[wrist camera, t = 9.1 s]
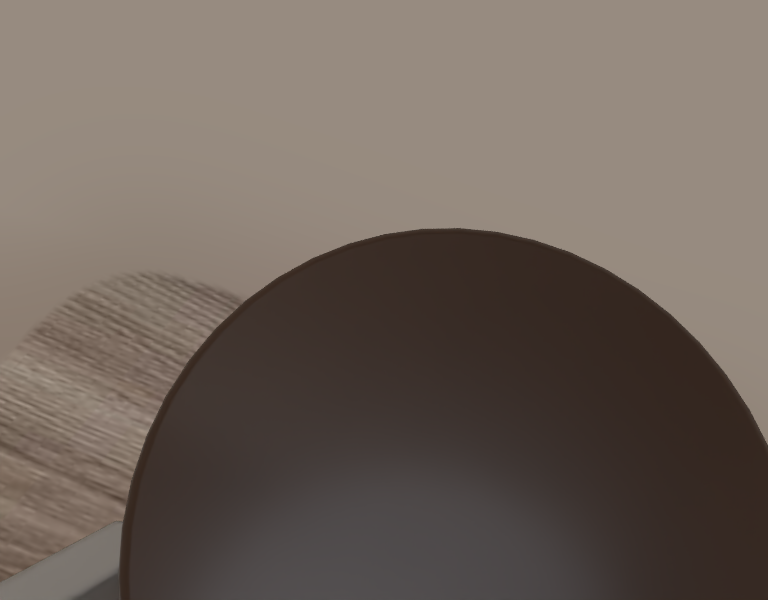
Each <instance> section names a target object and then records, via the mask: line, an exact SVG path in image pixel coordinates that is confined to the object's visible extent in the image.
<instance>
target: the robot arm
mask: <svg viewBox="0 0 768 600" xmlns="http://www.w3.org/2000/svg"><path fill="white" fill-rule="evenodd" d="M122 525H123V522H121V521H115V522H113V523H111V524H109V525H107V526H105V527H103V528H102V529H100V530H98V531H96V532H94V533H92V534H90V535H88V536H86V537H85V538H83V539H81V540H79V541H77V542H75V543H73V544H71V545H70V546H68V547H66V548H64V549H62V550H60V551H58V552H56V553H55V554H53V555H51V556H49V557H47V558H45V559H43V560H41V561H40V562H38V563H36V564H34V565H32V566H30V567H28V568H26V569H25V570H23V571H21V572H19V573H17V574H15V575H13V576H11V577H10V578H8V579H6V580H4V581H2V582H0V600H119V582H118V573H119V560H120V546H121V533H122Z"/></svg>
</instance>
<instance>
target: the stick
mask: <svg viewBox="0 0 768 600" xmlns="http://www.w3.org/2000/svg"><path fill="white" fill-rule="evenodd" d="M118 582H119V600H768V445H767V443H766V441H765V439H764V437H763V435H762V433H761V431H760V429H759V427H758V425H757V423H756V421H755V420H754V418H753V416H752V414H751V412H750V410H749V408H748V407H747V405H746V404H745V402H744V401H743V399H742V398H741V396H740V395H739V393H738V392H737V390H736V389H735V387H734V386H733V384H732V383H731V381H730V380H729V378H728V377H727V375H726V374H725V373H724V371H723V370H722V369H721V368H720V367H719V365H718V364H717V363H716V362H715V361H714V359H713V358H712V357H711V356H710V355H709V353H708V352H707V351H706V350H705V348H704V347H703V346H702V345H701V344H700V343H699V342H698V341H697V340H696V339H695V338H694V337H693V336H692V335H691V334H690V333H689V332H688V331H687V330H686V329H685V328H684V327H683V326H682V325H681V324H680V323H679V322H678V321H677V320H676V319H675V318H674V317H673V316H672V315H671V314H669V313H668V312H667V311H666V310H664V309H663V308H662V307H660V306H659V305H658V304H657V303H655V302H654V301H653V300H651V299H650V298H649V297H648V296H646V295H645V294H644V293H642V292H641V291H640V290H639V289H637V288H635V287H634V286H632V285H630V284H629V283H627V282H626V281H624V280H622V279H621V278H619V277H618V276H616V275H614V274H613V273H611V272H609V271H608V270H606V269H604V268H602V267H600V266H598V265H596V264H594V263H591V262H589V261H587V260H585V259H583V258H581V257H579V256H577V255H575V254H573V253H570V252H568V251H565V250H562V249H559V248H556V247H553V246H550V245H547V244H544V243H541V242H538V241H535V240H531V239H527V238H522V237H517V236H513V235H508V234H503V233H499V232H491V231H481V230H471V229H461V228H456V229H455V228H453V229H419V230H412V231H405V232H398V233H390V234H384V235H380V236H377V237H373V238H369V239H365V240H361V241H358V242H354V243H350V244H347V245H345V246H342V247H340V248H337V249H335V250H332V251H330V252H327V253H325V254H322V255H320V256H317V257H315V258H312V259H310V260H309V261H307V262H305V263H303V264H302V265H300V266H298V267H296V268H294V269H292V270H291V271H289V272H287V273H285V274H284V275H282V276H280V277H278V278H276V279H275V280H274V281H272V282H271V283H269V284H268V285H267V286H265V287H264V288H263V289H261V290H260V291H258V292H257V293H256V294H254V295H253V296H251V297H250V298H249V299H247V300H246V301H245V302H244V303H243V304H242V305H240V306H239V307H238V308H237V309H236V310H235V311H234V312H233V313H232V314H231V315H230V316H229V317H228V318H227V319H225V320H224V321H223V322H222V323H221V324H220V325H219V326H218V327H217V328H216V329H215V330H214V331H213V332H212V334H211V335H210V336H209V337H208V338H207V340H206V341H205V342H204V343H203V344H202V346H201V347H200V348H199V349H198V350H197V352H196V353H195V354H194V355H193V356H192V357H191V359H190V360H189V361H188V363H187V364H186V366H185V367H184V369H183V370H182V372H181V374H180V375H179V377H178V378H177V380H176V381H175V383H174V384H173V386H172V388H171V389H170V391H169V392H168V394H167V395H166V397H165V399H164V401H163V403H162V405H161V407H160V409H159V411H158V413H157V415H156V418H155V420H154V422H153V424H152V426H151V428H150V430H149V432H148V434H147V436H146V439H145V442H144V445H143V448H142V451H141V454H140V457H139V460H138V463H137V466H136V469H135V472H134V474H133V477H132V480H131V485H130V490H129V495H128V500H127V505H126V510H125V515H124V520H123V525H122V533H121V546H120V560H119V573H118Z"/></svg>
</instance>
